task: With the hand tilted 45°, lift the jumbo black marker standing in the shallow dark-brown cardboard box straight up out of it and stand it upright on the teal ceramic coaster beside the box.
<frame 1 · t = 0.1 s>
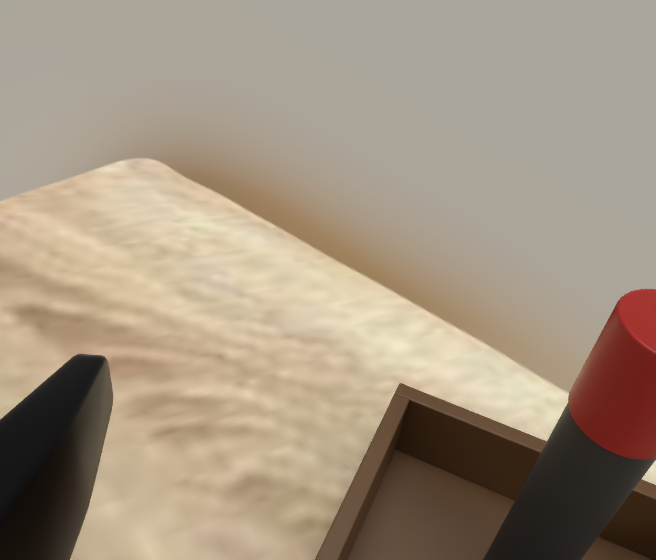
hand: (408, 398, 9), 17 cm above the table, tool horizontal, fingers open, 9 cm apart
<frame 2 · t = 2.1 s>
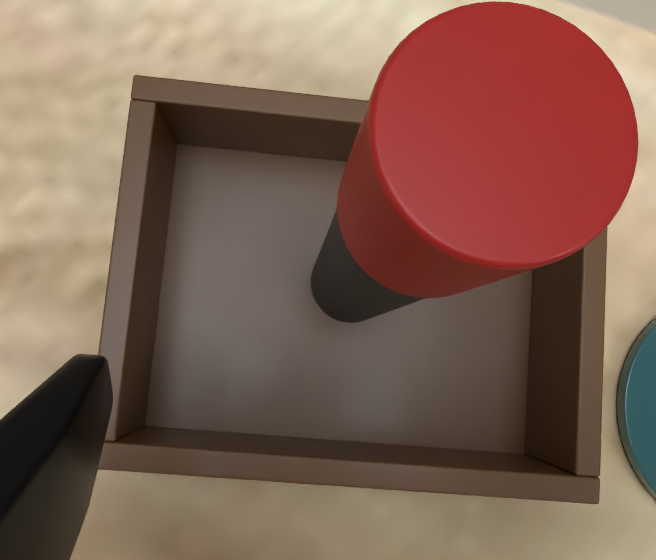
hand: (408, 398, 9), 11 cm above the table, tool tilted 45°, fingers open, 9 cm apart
box: (348, 299, 20), on the table
marker: (350, 282, 20), resting on box
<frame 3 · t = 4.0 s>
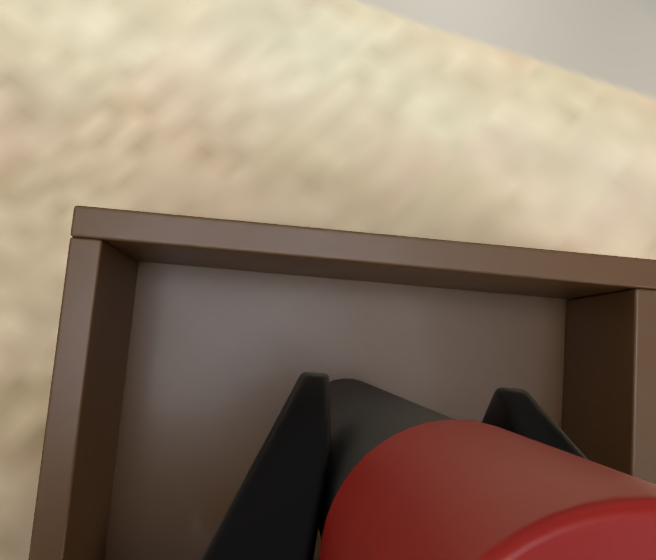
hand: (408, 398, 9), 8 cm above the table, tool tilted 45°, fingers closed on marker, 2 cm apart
box: (343, 443, 17), on the table
marker: (346, 426, 17), resting on box, touching gripper
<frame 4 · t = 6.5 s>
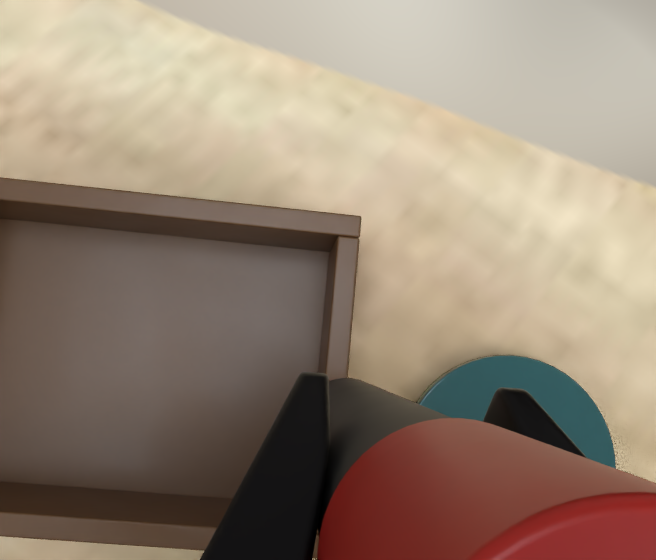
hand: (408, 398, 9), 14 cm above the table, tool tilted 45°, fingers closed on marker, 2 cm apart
box: (151, 359, 22), on the table
marker: (345, 426, 17), point 6 cm above the table, touching gripper
coaster: (504, 464, 23), on the table
when the fingers open (8 cm above the table, at t = 9.3 s): marker stays where it is, resting on coaster.
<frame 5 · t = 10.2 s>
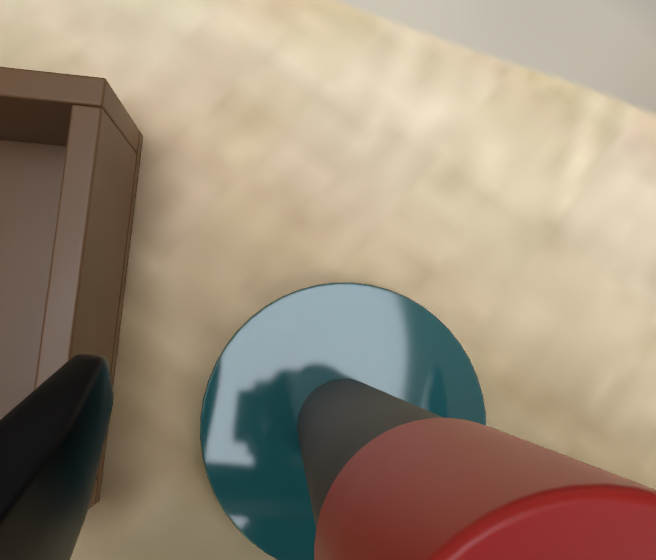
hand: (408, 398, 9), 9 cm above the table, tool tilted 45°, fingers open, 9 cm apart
marker: (344, 426, 17), resting on coaster
coaster: (344, 423, 18), on the table
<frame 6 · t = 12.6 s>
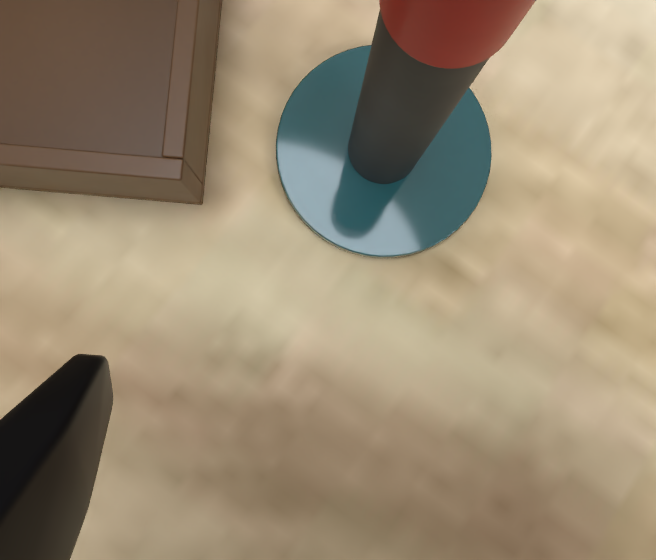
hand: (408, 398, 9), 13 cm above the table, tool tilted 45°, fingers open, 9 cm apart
box: (36, 52, 23), on the table
marker: (383, 149, 23), resting on coaster
coaster: (382, 152, 23), on the table
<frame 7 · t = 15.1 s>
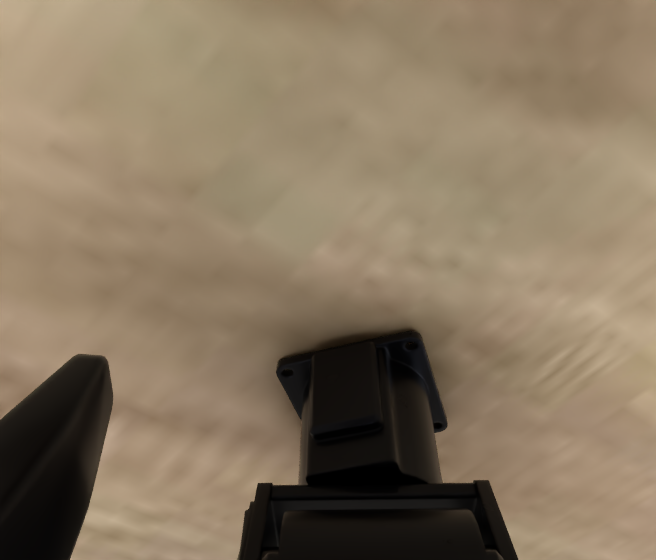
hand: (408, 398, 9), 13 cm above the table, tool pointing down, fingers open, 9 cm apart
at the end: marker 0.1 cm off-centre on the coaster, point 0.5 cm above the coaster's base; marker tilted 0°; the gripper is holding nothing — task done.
